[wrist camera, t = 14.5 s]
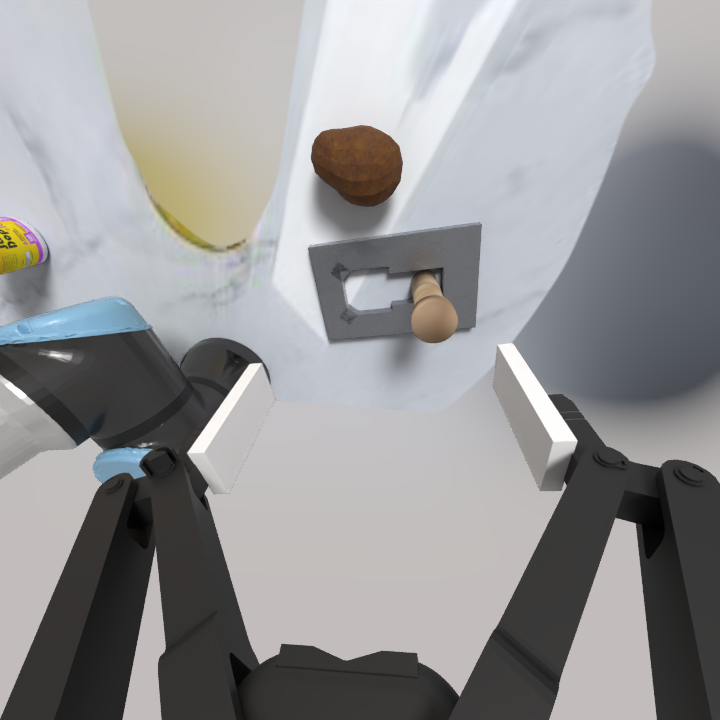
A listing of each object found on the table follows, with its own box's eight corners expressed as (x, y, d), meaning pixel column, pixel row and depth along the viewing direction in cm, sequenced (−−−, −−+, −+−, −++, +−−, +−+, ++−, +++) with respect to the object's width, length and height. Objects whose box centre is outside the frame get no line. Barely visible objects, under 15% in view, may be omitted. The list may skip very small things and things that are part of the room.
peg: (407, 300, 45) (412, 344, 34) (405, 268, 42) (410, 304, 32) (441, 297, 44) (457, 341, 33) (441, 264, 42) (458, 299, 31)
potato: (321, 121, 34) (304, 111, 28) (407, 135, 34) (411, 129, 28) (317, 194, 38) (301, 201, 32) (394, 207, 39) (394, 217, 32)
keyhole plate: (330, 335, 49) (328, 339, 48) (310, 245, 42) (307, 247, 41) (473, 322, 46) (475, 327, 45) (478, 222, 39) (481, 224, 37)
